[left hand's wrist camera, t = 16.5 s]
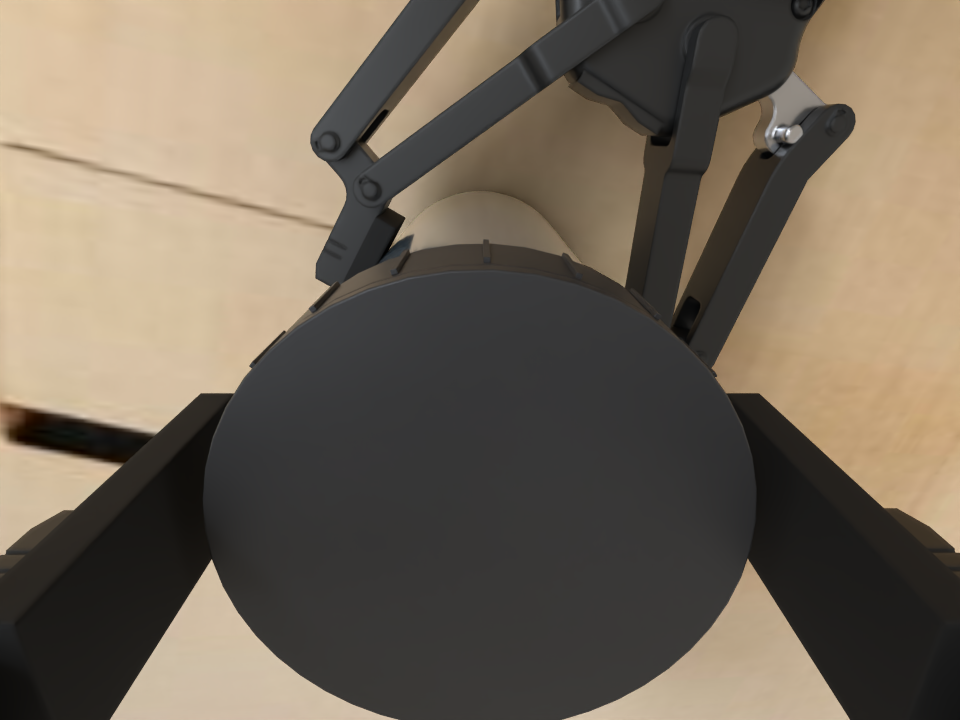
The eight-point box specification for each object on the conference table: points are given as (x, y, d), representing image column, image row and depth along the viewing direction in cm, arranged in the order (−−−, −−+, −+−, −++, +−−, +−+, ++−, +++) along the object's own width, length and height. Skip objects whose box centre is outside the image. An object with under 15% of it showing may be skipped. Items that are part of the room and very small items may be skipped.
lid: (639, 666, 14) (667, 758, 12) (242, 614, 14) (198, 702, 12) (780, 289, 11) (854, 326, 9) (255, 197, 10) (194, 213, 8)
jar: (401, 371, 30) (292, 695, 12) (379, 197, 26) (194, 310, 9) (570, 361, 29) (696, 675, 12) (568, 184, 26) (735, 275, 9)
